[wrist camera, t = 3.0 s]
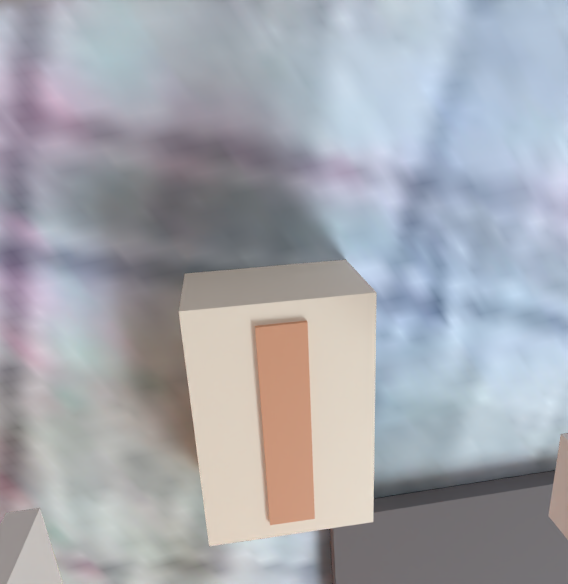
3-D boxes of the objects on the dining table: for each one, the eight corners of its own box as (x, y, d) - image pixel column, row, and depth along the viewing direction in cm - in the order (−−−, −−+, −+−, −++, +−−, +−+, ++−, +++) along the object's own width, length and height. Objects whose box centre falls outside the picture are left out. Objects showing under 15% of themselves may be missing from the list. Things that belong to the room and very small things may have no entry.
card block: (209, 471, 22) (209, 549, 18) (184, 271, 19) (178, 313, 15) (345, 453, 22) (374, 524, 18) (344, 257, 19) (377, 293, 15)
